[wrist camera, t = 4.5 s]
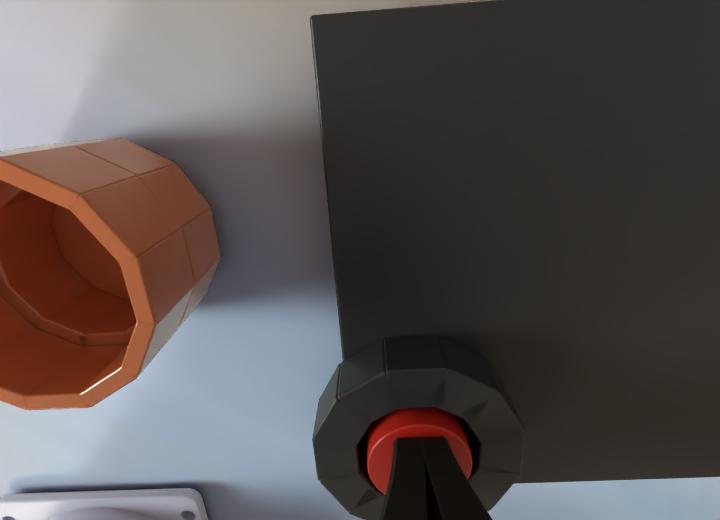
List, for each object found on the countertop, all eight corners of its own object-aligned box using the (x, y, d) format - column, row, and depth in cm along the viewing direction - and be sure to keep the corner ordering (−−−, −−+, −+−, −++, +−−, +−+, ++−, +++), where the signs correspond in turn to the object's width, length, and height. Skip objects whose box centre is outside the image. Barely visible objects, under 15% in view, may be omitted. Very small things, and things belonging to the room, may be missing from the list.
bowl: (238, 308, 13) (178, 405, 9) (74, 316, 13) (-60, 414, 9) (204, 131, 11) (107, 149, 7) (13, 144, 12) (-191, 169, 7)
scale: (693, 444, 15) (768, 524, 12) (333, 457, 15) (325, 537, 13) (821, -16, 10) (1000, -61, 7) (282, 28, 10) (250, 1, 8)
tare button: (458, 453, 13) (471, 503, 12) (370, 456, 13) (370, 506, 12) (460, 380, 12) (474, 423, 11) (364, 384, 12) (363, 427, 11)
